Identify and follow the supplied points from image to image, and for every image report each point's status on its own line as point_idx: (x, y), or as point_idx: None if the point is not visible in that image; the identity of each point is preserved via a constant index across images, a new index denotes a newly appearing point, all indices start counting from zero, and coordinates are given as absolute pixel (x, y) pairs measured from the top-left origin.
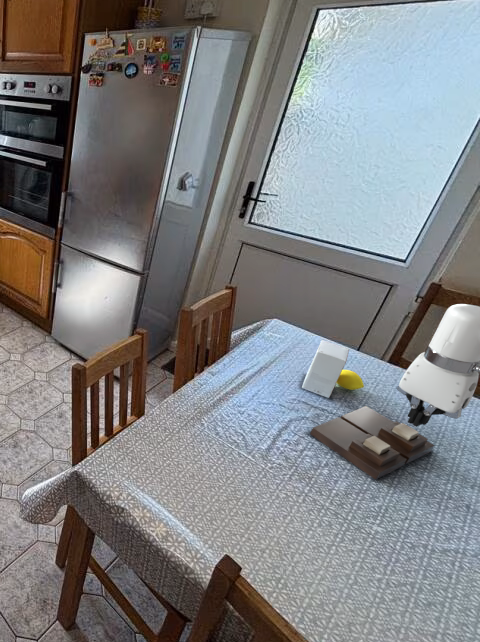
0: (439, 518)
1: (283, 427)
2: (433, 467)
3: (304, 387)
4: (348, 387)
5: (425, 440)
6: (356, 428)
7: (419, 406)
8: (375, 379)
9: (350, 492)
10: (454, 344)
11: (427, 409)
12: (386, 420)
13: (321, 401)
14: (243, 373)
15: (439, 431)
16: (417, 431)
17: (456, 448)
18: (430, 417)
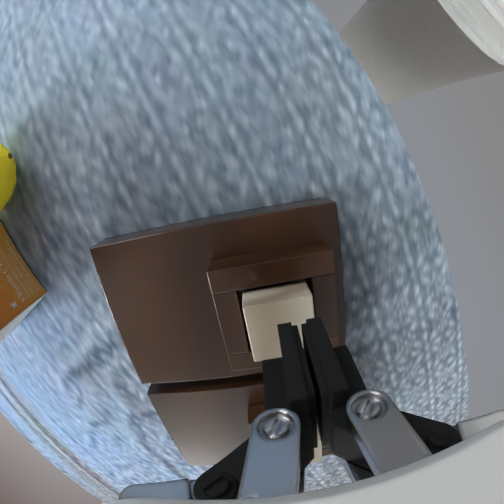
0: (432, 388)
1: (168, 466)
2: (371, 265)
3: (17, 326)
4: (7, 199)
5: (334, 272)
6: (201, 393)
7: (307, 462)
8: (12, 39)
9: (334, 469)
10: None
11: (361, 478)
12: (174, 252)
13: (62, 325)
14: (5, 395)
15: (248, 42)
16: (306, 298)
17: (331, 80)
18: (359, 375)
